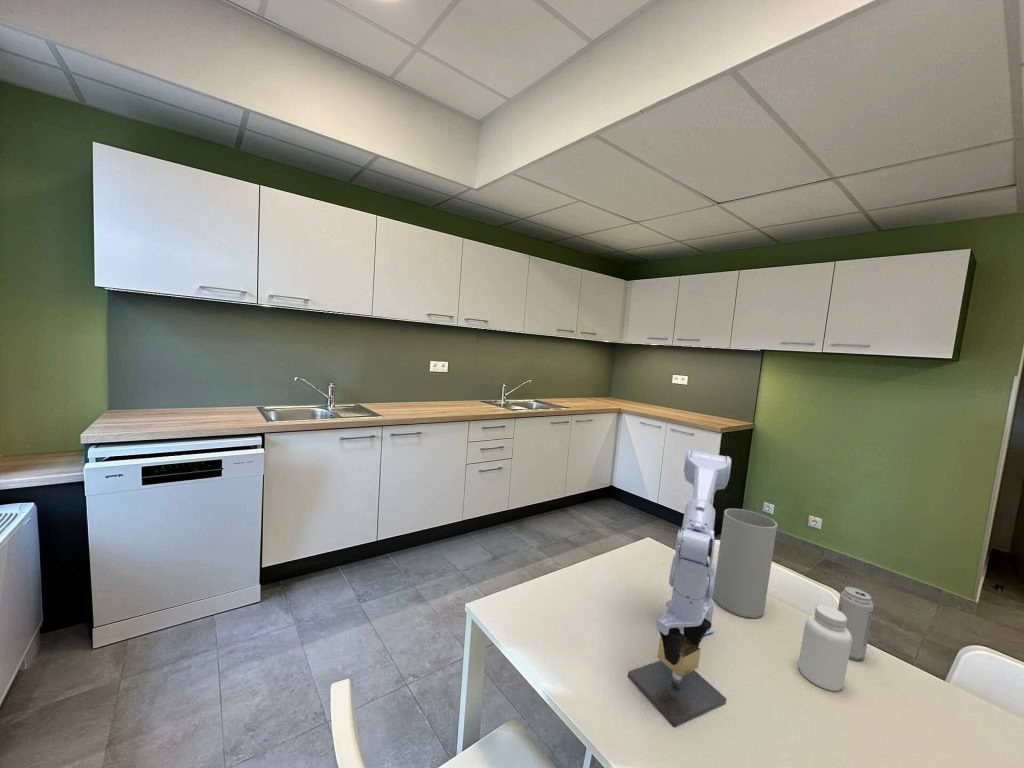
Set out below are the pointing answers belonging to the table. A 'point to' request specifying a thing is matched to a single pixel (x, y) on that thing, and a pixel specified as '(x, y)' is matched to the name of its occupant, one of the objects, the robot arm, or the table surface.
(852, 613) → the energy drink can
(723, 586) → the cylinder vase
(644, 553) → the table surface
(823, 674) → the pill bottle
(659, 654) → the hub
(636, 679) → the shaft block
